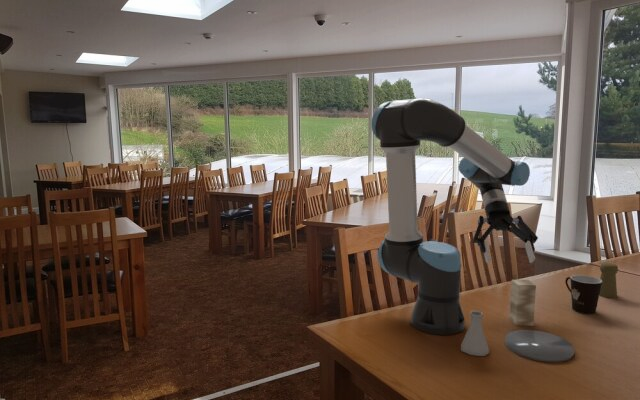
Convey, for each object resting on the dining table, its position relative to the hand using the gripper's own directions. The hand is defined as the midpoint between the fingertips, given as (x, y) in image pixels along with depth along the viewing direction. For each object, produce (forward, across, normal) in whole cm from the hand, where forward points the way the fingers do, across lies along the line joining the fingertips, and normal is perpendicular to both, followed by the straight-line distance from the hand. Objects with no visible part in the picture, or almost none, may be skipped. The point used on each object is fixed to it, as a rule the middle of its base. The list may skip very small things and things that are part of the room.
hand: (510, 261), depth 145 cm
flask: (+32, +19, +10) cm, 38 cm away
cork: (+2, -38, -20) cm, 43 cm away
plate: (+30, +2, +9) cm, 31 cm away
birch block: (+19, 0, -3) cm, 19 cm away
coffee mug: (+11, -23, -11) cm, 28 cm away
